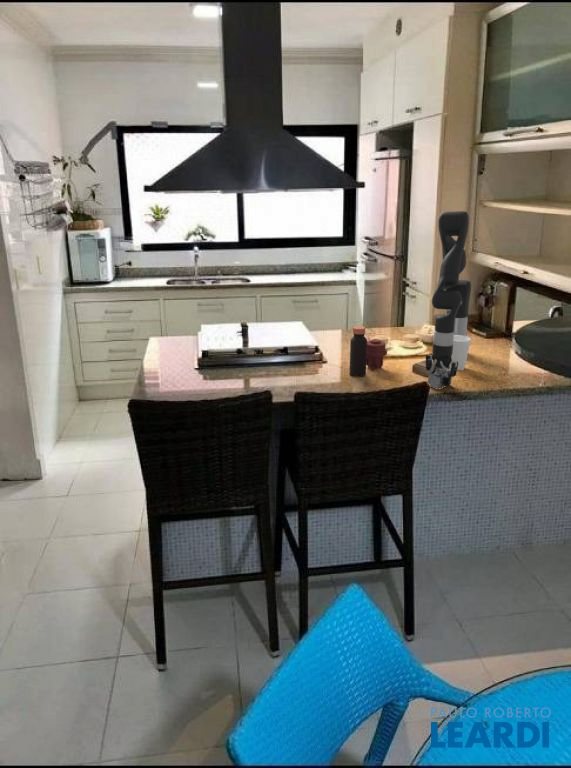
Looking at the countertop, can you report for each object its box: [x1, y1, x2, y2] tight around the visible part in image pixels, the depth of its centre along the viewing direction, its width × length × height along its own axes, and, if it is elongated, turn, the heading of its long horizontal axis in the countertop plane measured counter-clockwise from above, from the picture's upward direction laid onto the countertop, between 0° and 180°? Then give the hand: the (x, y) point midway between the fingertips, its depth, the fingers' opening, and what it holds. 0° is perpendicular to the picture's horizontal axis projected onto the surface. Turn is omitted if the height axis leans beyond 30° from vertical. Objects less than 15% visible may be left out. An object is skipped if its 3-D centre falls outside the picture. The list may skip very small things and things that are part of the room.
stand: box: [412, 359, 447, 377], centre depth 249 cm, size 10×10×4 cm
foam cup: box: [450, 335, 472, 371], centre depth 252 cm, size 10×9×13 cm
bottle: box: [349, 325, 368, 378], centre depth 244 cm, size 7×7×20 cm
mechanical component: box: [366, 338, 388, 372], centre depth 253 cm, size 12×10×10 cm
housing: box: [427, 369, 453, 390], centre depth 233 cm, size 8×5×6 cm, turn 129°
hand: (439, 383), depth 234 cm, fingers open, 6 cm apart
